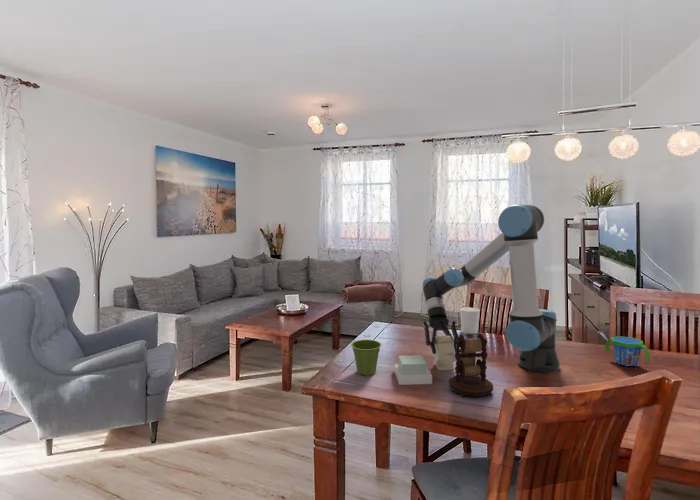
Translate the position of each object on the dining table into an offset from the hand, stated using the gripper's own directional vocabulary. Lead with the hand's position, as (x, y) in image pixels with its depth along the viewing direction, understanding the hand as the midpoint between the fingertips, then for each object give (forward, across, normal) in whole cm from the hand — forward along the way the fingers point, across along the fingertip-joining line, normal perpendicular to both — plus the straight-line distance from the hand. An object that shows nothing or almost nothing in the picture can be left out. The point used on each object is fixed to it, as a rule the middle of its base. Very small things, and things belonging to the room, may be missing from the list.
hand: (446, 360), depth 155 cm
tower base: (+7, +15, +2) cm, 17 cm away
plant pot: (+3, +32, -3) cm, 32 cm away
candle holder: (-33, -27, -39) cm, 58 cm away
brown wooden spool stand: (+16, -3, +10) cm, 19 cm away
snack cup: (+2, -74, -4) cm, 74 cm away
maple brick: (0, 0, -5) cm, 5 cm away
